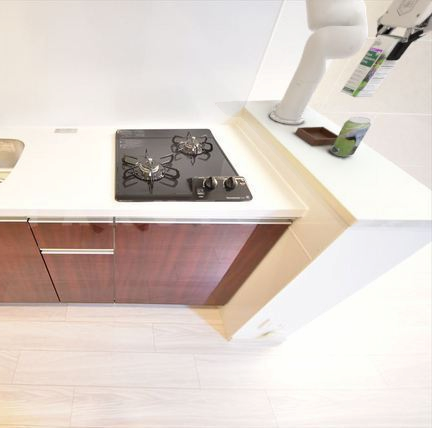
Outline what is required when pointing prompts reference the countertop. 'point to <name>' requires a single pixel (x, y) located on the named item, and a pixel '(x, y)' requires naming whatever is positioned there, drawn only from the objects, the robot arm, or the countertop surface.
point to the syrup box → (373, 67)
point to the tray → (316, 135)
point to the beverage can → (350, 136)
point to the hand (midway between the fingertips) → (381, 56)
